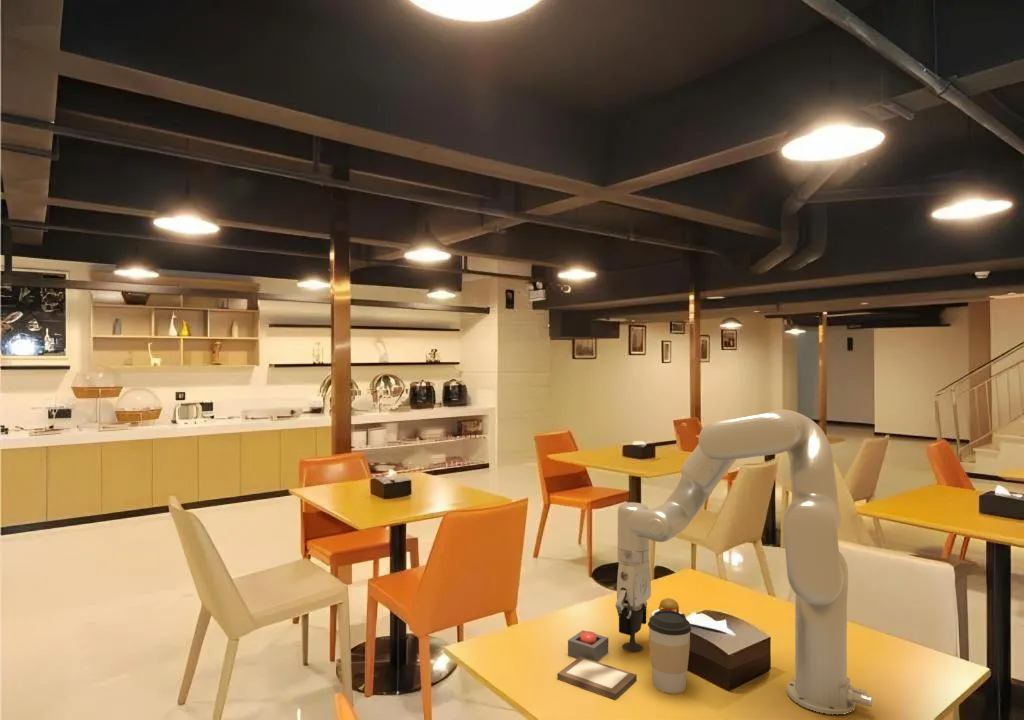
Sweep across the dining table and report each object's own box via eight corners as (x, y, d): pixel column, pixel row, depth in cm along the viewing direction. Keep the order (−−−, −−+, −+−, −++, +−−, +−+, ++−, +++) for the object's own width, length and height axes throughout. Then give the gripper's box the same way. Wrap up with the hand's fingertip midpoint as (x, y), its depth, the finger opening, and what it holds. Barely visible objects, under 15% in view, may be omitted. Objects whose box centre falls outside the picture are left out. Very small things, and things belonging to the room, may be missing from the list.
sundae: (639, 656, 143) (639, 592, 144) (613, 648, 147) (614, 586, 148) (651, 646, 149) (651, 584, 149) (626, 639, 153) (626, 578, 153)
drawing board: (636, 680, 132) (636, 673, 132) (615, 700, 124) (615, 693, 124) (580, 661, 141) (580, 655, 141) (557, 678, 133) (557, 672, 133)
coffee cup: (649, 694, 127) (649, 621, 127) (645, 673, 136) (646, 605, 136) (694, 697, 125) (694, 624, 126) (687, 676, 134) (687, 607, 135)
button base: (608, 652, 145) (608, 637, 145) (594, 663, 140) (594, 648, 140) (582, 644, 149) (582, 630, 150) (567, 655, 144) (567, 640, 144)
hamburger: (638, 612, 171) (638, 592, 172) (677, 609, 174) (677, 589, 174) (658, 630, 160) (658, 609, 160) (699, 626, 162) (699, 605, 163)
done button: (599, 642, 145) (599, 634, 145) (591, 648, 142) (591, 639, 142) (585, 638, 147) (585, 629, 147) (577, 643, 144) (577, 635, 144)
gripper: (631, 566, 139) (631, 645, 139) (661, 549, 153) (661, 620, 153) (602, 560, 144) (602, 636, 143) (634, 544, 158) (634, 613, 157)
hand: (632, 627), depth 148 cm, fingers open, 7 cm apart
